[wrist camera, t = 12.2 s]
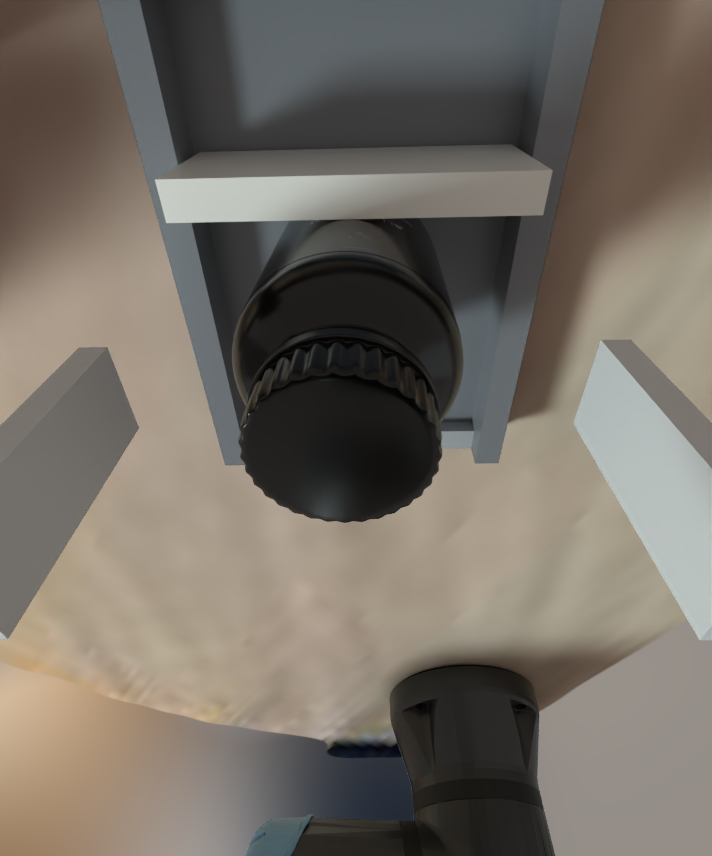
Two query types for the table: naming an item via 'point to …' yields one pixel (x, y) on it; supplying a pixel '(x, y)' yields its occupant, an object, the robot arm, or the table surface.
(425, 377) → the supplement bottle
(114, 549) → the table surface
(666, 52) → the table surface
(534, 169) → the plate
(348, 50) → the pusher lane
